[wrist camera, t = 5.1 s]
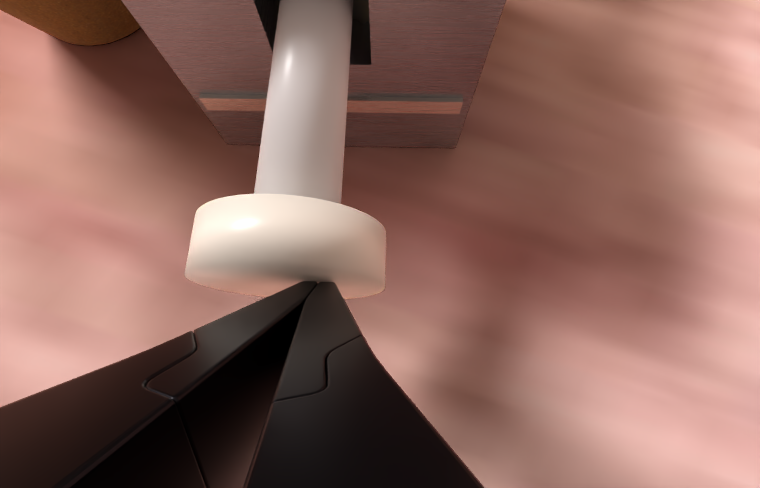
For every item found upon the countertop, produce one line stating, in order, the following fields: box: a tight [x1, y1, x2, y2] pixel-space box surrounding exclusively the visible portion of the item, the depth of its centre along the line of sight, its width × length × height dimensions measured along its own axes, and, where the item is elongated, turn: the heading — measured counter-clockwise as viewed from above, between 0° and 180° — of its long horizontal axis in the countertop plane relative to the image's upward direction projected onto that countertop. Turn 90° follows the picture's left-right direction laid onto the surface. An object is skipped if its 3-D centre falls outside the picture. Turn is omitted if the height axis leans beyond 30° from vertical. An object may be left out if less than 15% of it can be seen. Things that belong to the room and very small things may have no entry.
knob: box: [185, 0, 386, 299], centre depth 12 cm, size 14×5×5 cm, turn 178°
